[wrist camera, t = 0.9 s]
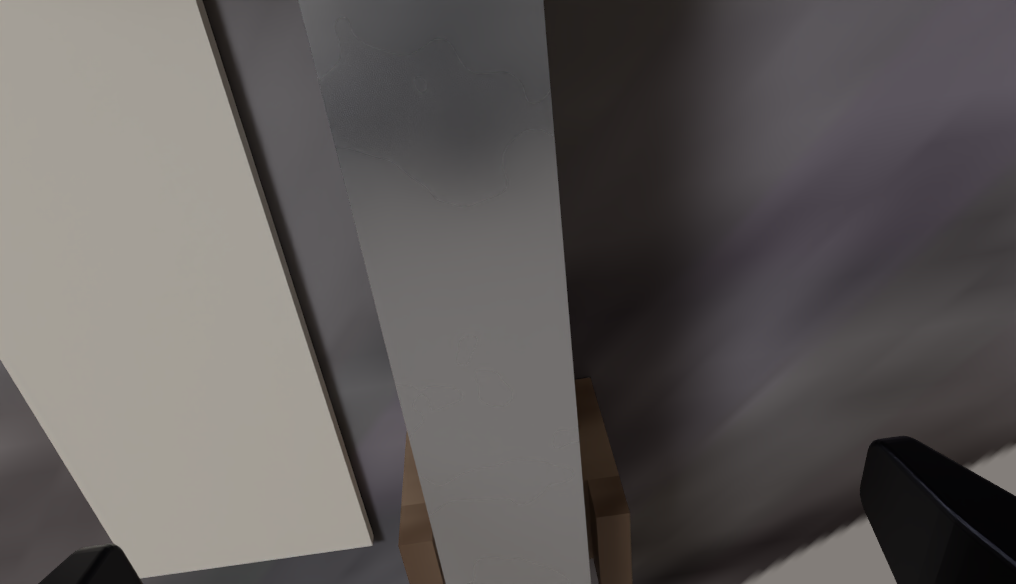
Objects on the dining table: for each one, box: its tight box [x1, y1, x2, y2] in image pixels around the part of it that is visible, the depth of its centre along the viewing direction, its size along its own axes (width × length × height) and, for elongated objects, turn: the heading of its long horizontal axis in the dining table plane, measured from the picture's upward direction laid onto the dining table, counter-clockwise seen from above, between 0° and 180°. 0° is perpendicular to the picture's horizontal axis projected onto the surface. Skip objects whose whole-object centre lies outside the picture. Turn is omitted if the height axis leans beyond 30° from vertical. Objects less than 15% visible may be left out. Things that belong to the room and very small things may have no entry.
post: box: [398, 378, 632, 584], centre depth 19 cm, size 6×3×5 cm, turn 96°
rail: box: [298, 0, 591, 584], centre depth 13 cm, size 3×22×3 cm, turn 6°
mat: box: [0, 0, 374, 578], centre depth 17 cm, size 8×24×1 cm, turn 7°
